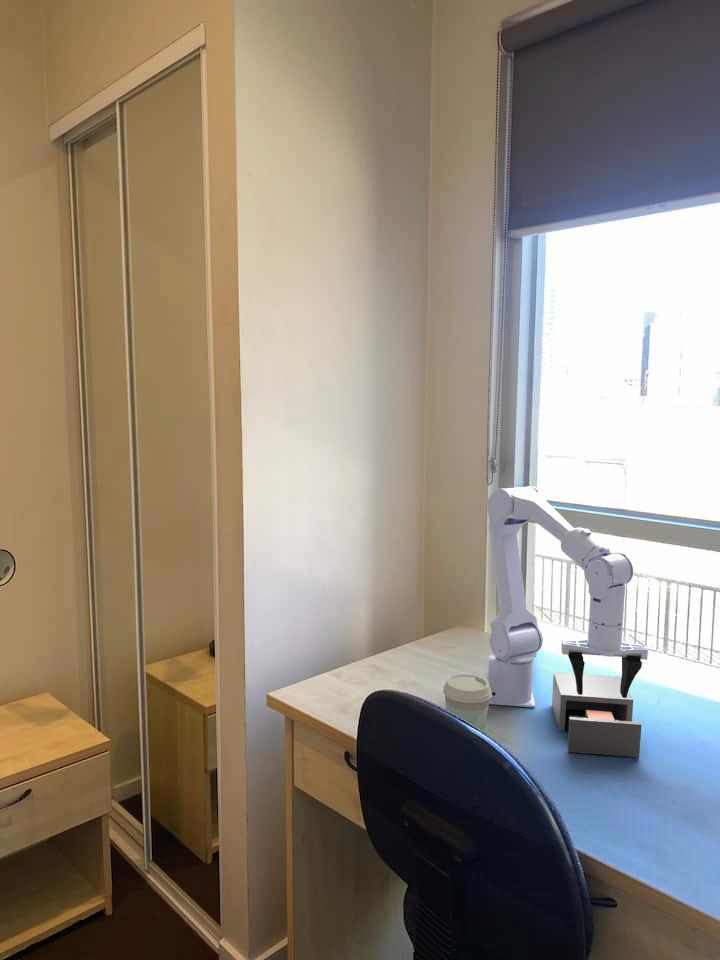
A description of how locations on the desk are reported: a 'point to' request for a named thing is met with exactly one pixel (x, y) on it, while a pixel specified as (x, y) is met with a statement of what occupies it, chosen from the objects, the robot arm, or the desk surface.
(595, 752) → the tray
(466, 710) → the coffee cup
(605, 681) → the player housing
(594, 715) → the terracotta block
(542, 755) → the desk surface
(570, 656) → the robot arm
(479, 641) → the desk surface
